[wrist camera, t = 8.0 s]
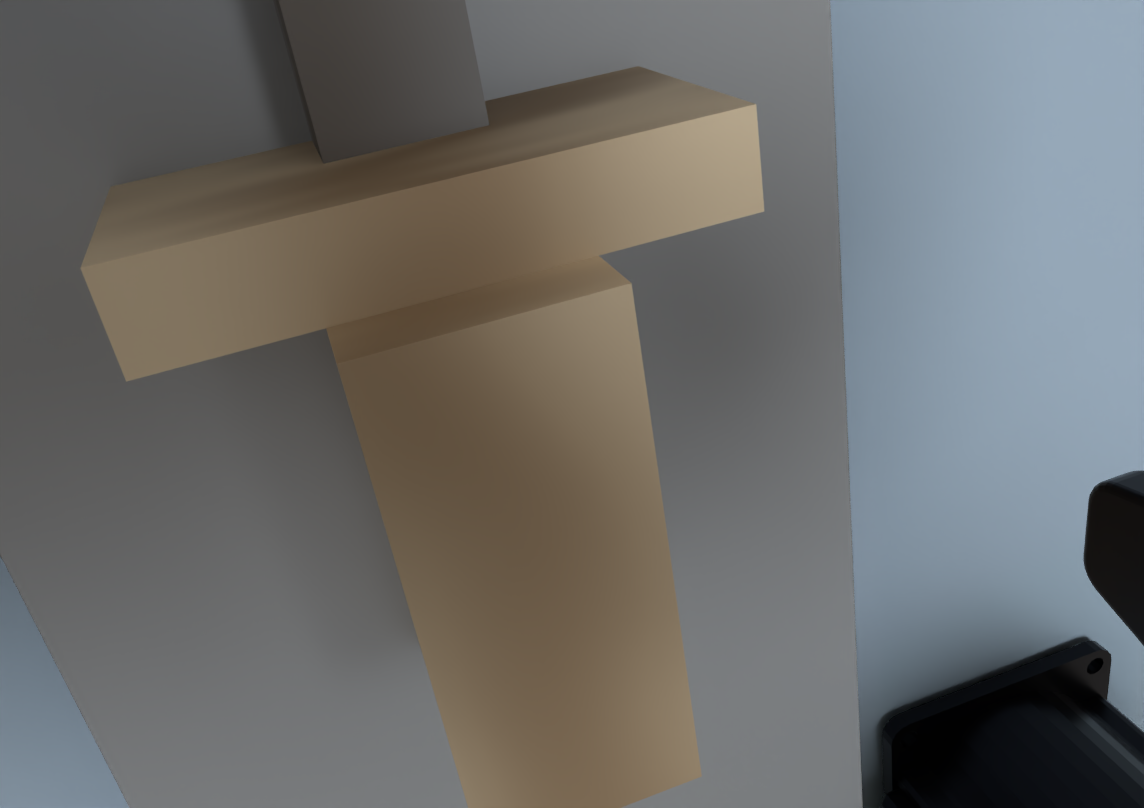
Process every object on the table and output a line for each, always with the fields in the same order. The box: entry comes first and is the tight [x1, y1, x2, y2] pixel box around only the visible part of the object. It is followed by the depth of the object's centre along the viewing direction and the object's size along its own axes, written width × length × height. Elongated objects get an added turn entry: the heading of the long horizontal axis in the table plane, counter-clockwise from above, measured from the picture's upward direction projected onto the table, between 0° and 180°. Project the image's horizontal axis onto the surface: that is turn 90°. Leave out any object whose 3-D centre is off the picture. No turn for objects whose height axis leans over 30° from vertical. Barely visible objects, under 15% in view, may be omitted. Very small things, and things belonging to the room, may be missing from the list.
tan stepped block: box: [80, 0, 764, 808], centre depth 12 cm, size 10×12×4 cm
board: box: [0, 0, 863, 808], centre depth 18 cm, size 13×20×3 cm, turn 10°
